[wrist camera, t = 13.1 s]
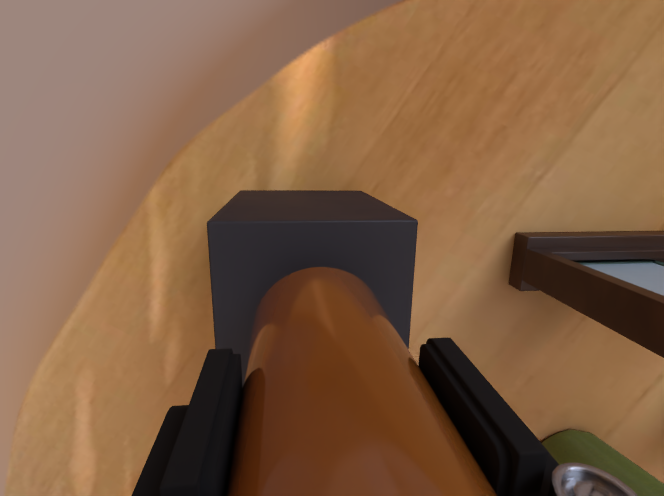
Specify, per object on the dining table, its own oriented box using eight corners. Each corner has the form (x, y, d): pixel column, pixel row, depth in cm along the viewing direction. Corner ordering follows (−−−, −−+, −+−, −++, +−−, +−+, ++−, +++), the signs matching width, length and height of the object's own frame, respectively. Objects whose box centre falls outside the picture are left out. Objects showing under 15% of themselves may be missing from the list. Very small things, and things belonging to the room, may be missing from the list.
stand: (239, 190, 24) (206, 221, 14) (361, 190, 25) (418, 219, 15) (245, 305, 26) (219, 411, 16) (357, 301, 27) (405, 398, 17)
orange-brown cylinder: (250, 267, 12) (177, 548, 4) (385, 264, 13) (588, 501, 4) (255, 388, 14) (209, 805, 5) (379, 380, 14) (527, 743, 6)
